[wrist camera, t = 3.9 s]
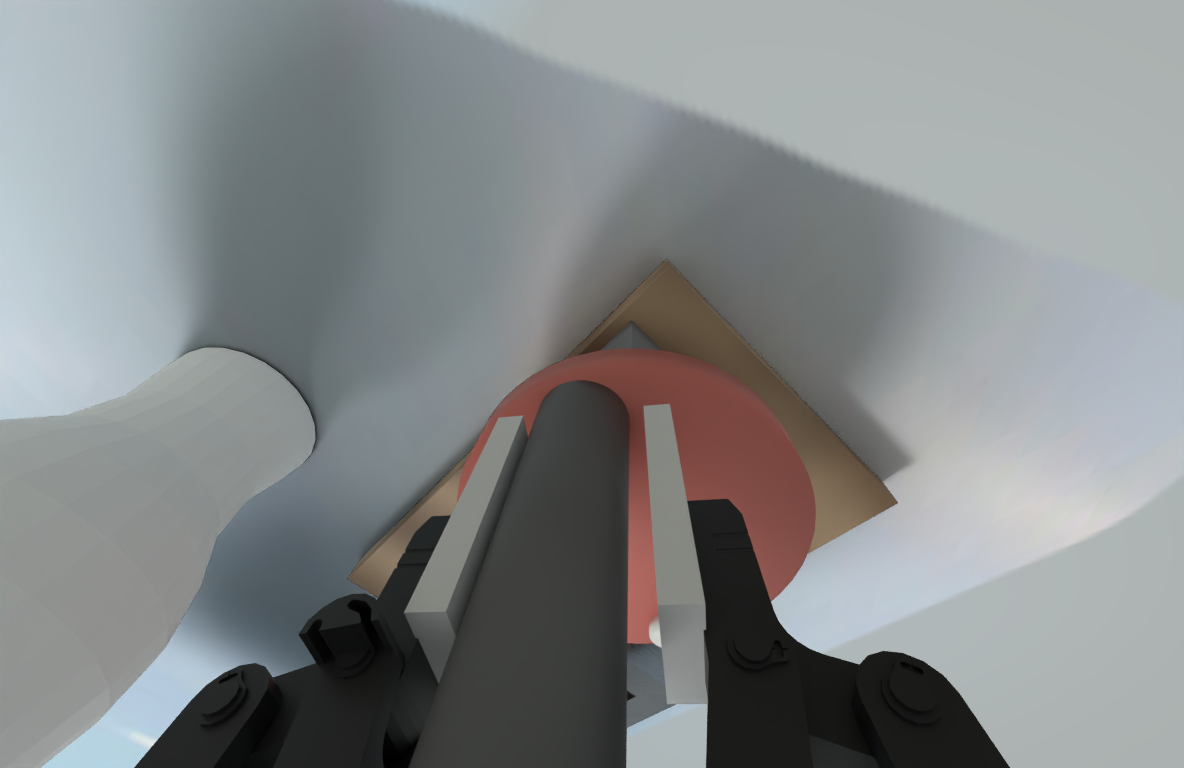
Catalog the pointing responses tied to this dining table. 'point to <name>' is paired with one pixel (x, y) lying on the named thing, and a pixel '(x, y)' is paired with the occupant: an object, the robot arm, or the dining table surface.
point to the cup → (124, 531)
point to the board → (694, 328)
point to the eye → (645, 682)
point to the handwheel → (598, 553)
